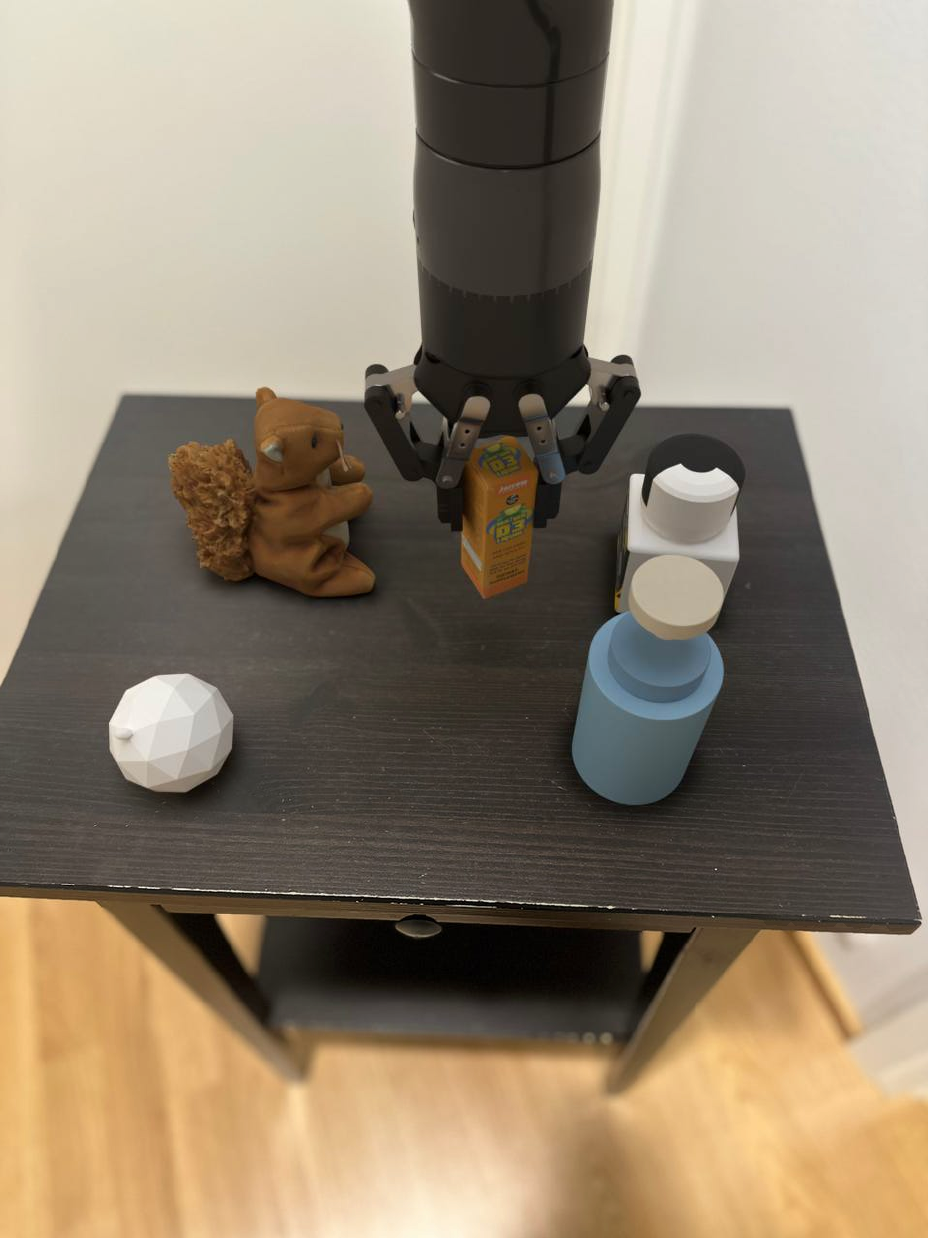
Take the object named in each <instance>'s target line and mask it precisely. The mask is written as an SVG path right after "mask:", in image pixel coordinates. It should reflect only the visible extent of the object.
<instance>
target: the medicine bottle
mask: <svg viewBox="0 0 928 1238" xmlns="http://www.w3.org/2000/svg"><path fill="white" fill-rule="evenodd" d="M745 480H746V467H745V465H744V461H742V458H741V457H740V455H739V454H738V453H737V452H736V451H735V450H734V449H733V448H732V447H731V446H730V445H729V444H728V443H726V442H724V441H722V440H720V439H718V438H715V437H713V436H710V435H705V434H699V433H683V434H682V433H681V434H677V435H673V436H670V437H668V438H666V439H664V440H662V441H660V442H659V443H658V444H656V445H655V446H654V447H653V448H652V450H651V451H650V453H649V455H648V458H647V463H646V467H645V472H644V473H632V474H631V475H630V477H629V481H628V487H627V491H626V496H625V502H624V506H623V512H622V516H621V521H620V527H619V532H618V538H617V548H616V549H617V550H616V551H617V552H616V568H615V569H616V572H615V591H614V592H615V593H614V594H615V595H614V610H615V612H616V613H617V614H618V613H619V614H622V613H625V612H628V611H631V610H630V607H629V602H628V595H629V591H630V587H631V582H632V578H633V576H634V573H635V572H636V570H637V569H638V568H639V567H640V566H641V565H642V564H643V563H644V562H646V561H648V560H650V559H652V558H654V557H657V556H662V555H682V556H687V557H690V558H693V559H695V560H698V561H700V562H701V563H703V564H705V565H706V566H708V567H709V568H710V569H711V570H712V571H713V572H714V573H715V574H716V575H717V577H718V578H719V580H720V582H721V584H722V587H723V591H724V599H726V596H727V593H728V590H729V587H730V586H731V582H732V579H733V577H734V574H735V573H736V569H737V568H738V567H737V566H738V564H739V560H740V547H739V546H740V545H739V531H738V530H739V529H738V514H737V513H738V512H737V503H738V500H739V498H740V494H741V491H742V488H743V485H744V483H745Z"/></svg>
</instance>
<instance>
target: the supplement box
mask: <svg viewBox="0 0 928 1238" xmlns="http://www.w3.org/2000/svg"><path fill="white" fill-rule="evenodd" d="M461 478H462V507H463V531H460V535H461V537H460V539H461V540H460V543H461V544H460V546H461V547H460V550H461V551H460V552H461V553H460V564H461V566H462V568H463V570H464V572H465V573H466V574H467V576H468V577H469V579H470V580H471V582H472V583H473V585H474V586H475V589H476V590H477V591H478V593H479V594H480V596H481V597H482V599H483V600H486V599H489V598H492V597H494V596H496V595H499V594H502V593H504V592H506V591H507V592H508V591H510V590H511V589H514V588H517V587H519V586H521V585H524V584H527V582H528V575H529V568H530V567H529V566H530V557H531V551H532V550H531V549H532V541H533V532H534V527H533V521H534V511H535V501H536V491H537V481H538V470H537V468H536V466H535V465H534V463H533V460H532V459H531V458H530V456H529V455H528V453H527V452H526V451H525V449H524V448H523V447H522V445H521V444H520V443H519V441H518V440H517V439H516V437H513V436H507V435H505V436H503V437H502V438H501V439H499V440H496V441H493V442H490V443H487V444H483V445H480V446H478V447H474V449H473V451H472V454H471V457H470V460H469V461H466V463H465V465H464V468H463V471H462V474H461Z"/></svg>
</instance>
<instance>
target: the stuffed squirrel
mask: <svg viewBox="0 0 928 1238" xmlns="http://www.w3.org/2000/svg"><path fill="white" fill-rule="evenodd" d="M255 404H256V407H257V412H256V414H255V417H254V425H253V443H254V448H255V453H256V462H255V467H254V470H252V466H251V465H250V461H249V459H247V458H245V455H244V451H243V450H242V448H239V446H238V445H236V444H237V443H235V439H234V438H233V439H231V438H228V439H227V440H226V441H223V442H222V444H220V443H218V444H214V446H208V444H205V445H201V444H199V443H198V442H196V441H189V443H188V444H187V445H185V444H182V445H181V446H178V447H177V449H175V451H176V452H175V453H170V454H167V456H168V458H167V465H168V468H169V471H170V473H171V478H169V481H170V482H169V484H170V485H171V489H172V492H173V497H174V498H175V500H177V501H178V503H179V504H180V506H181V507H182V509H183V510H184V511H185V512H187V514H186V515H185V516H184V517H185V519H186V520H187V521H185V522H184V525H186V526H187V528H188V529H189V530H190V531H191V533H192V534H193V535H192V536H191V537H190V538H191V540H193V541H194V542H195V543H197V545H198V546H199V547H198V549H199V550H197V552H196V555H195V557H197V556H198V557H197V560H198V561H199V569H203V568H207V569H208V570H209V571H211V572H214V573H216V575H217V576H219V577H222V578H224V581H228V580H232V582H237V581H242V580H245V579H247V578H249V577H252V576H253V575H254V574H255V573H256V574H257V575H258V576H260V577H263V578H265V579H268V580H271V581H273V582H275V583H277V584H281V585H283V586H285V587H288V588H292V589H293V590H295V591H298V592H299V593H301V594H304V595H306V596H310V597H320V598H321V597H322V598H323V597H328V598H329V597H345V596H355V595H359V594H366V593H367V594H368V593H369V592H371V591H372V590H373V588H374V585H375V581H376V575H375V573H374V572H373V571H372V569H371V568H369V566H367V565H366V564H365V563H364V562H362V561H361V560H359V559H358V558H357V557H355V556H354V555H352V554H351V553H349V552H348V551H347V548H348V547H349V542H350V531H349V523H348V522H349V521H350V520H352V519H355V518H357V517H358V516H360V515H362V514H364V513H365V512H366V511H368V509H369V508H370V507H371V505H372V503H373V501H374V492H373V491H372V489H370V487H369V486H368V485H367V484H366V483H364V482H361V481H363V480H364V478H365V477H366V472H367V471H366V466H365V463H364V462H362V461H361V460H360V459H358V458H356V457H355V456H353V455H350V454H344V450H345V448H346V440H345V439H346V438H345V431H344V424H343V423H342V421H341V419H340V416H339V415H338V414H336V413H334V412H333V411H331V410H328V409H324V408H322V407H319V406H315V405H311V404H309V403H305V402H303V401H300V400H295V399H291V398H287V397H278V396H277V394H276V393H275V391H274V390H272V389H271V388H270V387H267V386H262V387H258V388H257V389H256V391H255Z"/></svg>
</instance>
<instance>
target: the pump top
mask: <svg viewBox="0 0 928 1238" xmlns="http://www.w3.org/2000/svg"><path fill="white" fill-rule="evenodd" d="M724 601H725V598H724V591H723V587H722V584H721V582H720V580H719V578H718V577H717V575H716V574H715V573H714V572H713V571H712V570H711V569H710V568H709V567H708V566H706V565H705V564H703V563H701V562H700V561H698V560H695V559H693V558H690V557H687V556H682V555H662V556H657V557H654V558H652V559H650V560H648V561H646V562H644V563H643V564H642V565H641V566H640V567H639V568H638V569H637V570H636V572H635V573H634V576H633V578H632V582H631V587H630V591H629V595H628V602H629V607H630V610H631V613H632V615H633V616H634V618H635V619H636V621H637V622H638V623H639V624H640V625H641V626H642V627H643V628H645V629H646V630H648V631H649V632H651V633H653V634H654V635H655V636H657V637H658V638H660V639H663V640H685V639H691V638H695V637H698V636H700V635H702V634H704V633H705V632H706V633H708V631H710V630H711V629H712V628H713V627H714V625H715V624H716V622H717V621H718V618H719V616H720V613H721V610H722V607H723V604H724Z"/></svg>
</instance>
